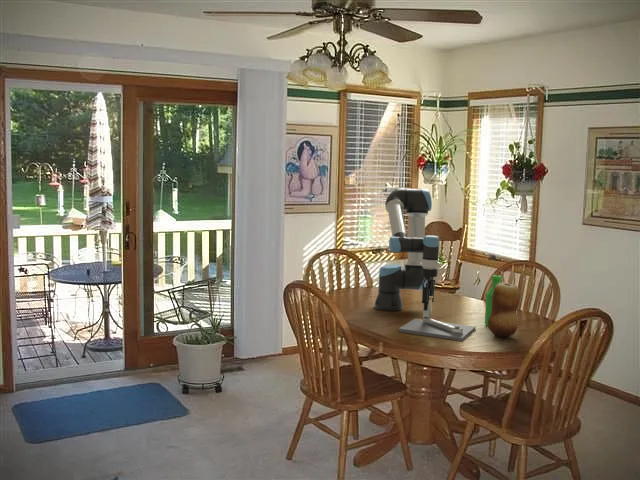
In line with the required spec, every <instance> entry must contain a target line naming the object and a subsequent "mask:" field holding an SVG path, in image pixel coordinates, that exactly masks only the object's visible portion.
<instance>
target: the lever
mask: <svg viewBox="0 0 640 480" xmlns="http://www.w3.org/2000/svg"><path fill="white" fill-rule="evenodd" d="M432 298H433V296H431V295H430V296H429V317H423V316H422V318H421V319H422V321H423V322H426V323H428V324H431V325H434V326H437V327H439V328H442V329H445V330H448V331H450V332H451V333H453V334H463V329H462V328H460V326H455V327H454V326H451V325H448V324H445V323H443V322H444V321H439V320H437V319H433V318H432V313H431V307H432V308H433V302H432Z"/></svg>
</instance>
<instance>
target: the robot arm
mask: <svg viewBox="0 0 640 480" xmlns="http://www.w3.org/2000/svg"><path fill="white" fill-rule="evenodd" d="M432 205H433V204H432V196H431V192H430V191H429V190H428V189H426V188H410V187H409V188H404V187H401V188H400V187H399V188H396V189H395V190H393V191H391V192H390V193H389V194H388V196H387V198H386V200H385V203H384V207H385V211H386V212H387V213H388V219H389V224H390V231H391V236H390V237H389V241H388V249H389V251H390V252H392V253H407V261H406V262H405V264H404V267H403V266H402V265H401V264H398V263H397V264H394V263H393V264H387V265H383V266H380V268H379V272H378V289H377V290H378V291H377V292H378V293H377V296H376V298H375V302H374V305H373V306H374V309H376V310H379V311H386V312H397V311H402V310H403V309H404V308H403V307H404V305H403V301H402V296H401V290H412V291H413V290H416V291H420V290H422V292H421V293H422V294H421V295H422V296H421V297H422V298H421V299H422V300H421V304H423V305H422V306H423V308H422V318H423V317H429V296H430V295H431V296H433V298H432V303H434V302H435V300H434V299H435V289H436V287H435V285H436V279H434V278H437V277H438V266H439V264H440V262H439V253H440V252H439V250H440V238H439V236H437V235H425V233H426V230H425V229H426V217H427V216H428V215H429V212H431V211H432ZM404 211H405V213H406V215H407V216H408V231H407V227H406V221H405V216H404ZM407 232H408V233H407ZM432 310H433V306H432V307H431V314H433V313H432Z"/></svg>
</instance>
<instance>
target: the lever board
mask: <svg viewBox="0 0 640 480" xmlns="http://www.w3.org/2000/svg"><path fill="white" fill-rule="evenodd" d="M422 319H423V318H414V319H412V320H411V321H409V322H407V323H406V324H404V325H401V327H398V332H399V333H406V334H411V335H412V334H413V335H418V336H425V337H432V338H440V339H445V340H452V341H458V342H463V341H464V340H465V339H467V338H468V337H469V336H471V334H473V332H474V331H476V326H475V325H474V326H473V325H466V324H460V323H459V324H458V323H452V322H445V321H442V322H443V323H445V324H448V325H451V326H454V327H455V326H460V328H462V329H463V334H453V333H451V332H450V331H448V330H445V329H442V328H439V327H437V326H434V325H431V324H428V323H426V322H423V321H422Z"/></svg>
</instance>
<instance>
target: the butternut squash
mask: <svg viewBox="0 0 640 480" xmlns="http://www.w3.org/2000/svg"><path fill="white" fill-rule="evenodd" d="M520 296H521V293H520V288H519V286H518V285H516V284H511V283H507V282H501V283H498V284H497V285H496V286H495V288H494V291H493V296H492V311H491V314H490V316H489V319H488V326H487V327H488V329H489V331H490V332H491V334H493V335H494V336H495V337H496V338H501V339H502V338H509V337H511V336H512V335H514V334H515V333H517V330H518V327H519V320H518V315H517V310H518V307H519V302H520Z"/></svg>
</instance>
